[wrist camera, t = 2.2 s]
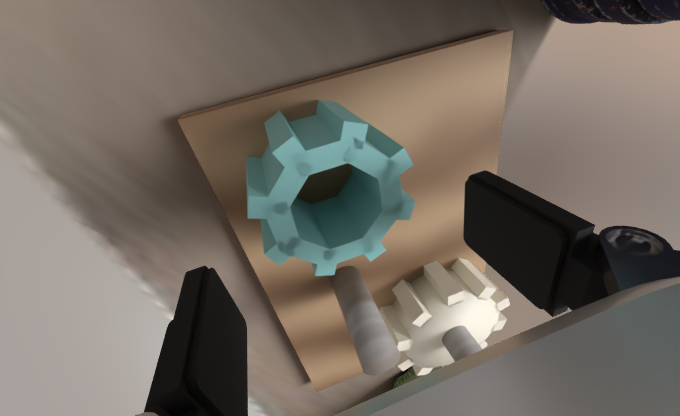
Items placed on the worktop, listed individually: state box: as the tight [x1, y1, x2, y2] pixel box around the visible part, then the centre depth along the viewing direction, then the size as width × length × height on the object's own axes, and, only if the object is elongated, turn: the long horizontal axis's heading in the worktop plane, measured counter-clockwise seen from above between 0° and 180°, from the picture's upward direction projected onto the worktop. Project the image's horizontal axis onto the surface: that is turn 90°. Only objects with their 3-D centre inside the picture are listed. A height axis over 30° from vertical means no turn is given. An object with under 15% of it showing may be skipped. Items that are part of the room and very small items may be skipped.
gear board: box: [177, 30, 514, 392], centre depth 17 cm, size 24×16×7 cm, turn 11°
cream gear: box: [380, 258, 510, 376], centre depth 22 cm, size 9×9×3 cm
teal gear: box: [246, 100, 416, 276], centre depth 13 cm, size 7×7×4 cm
